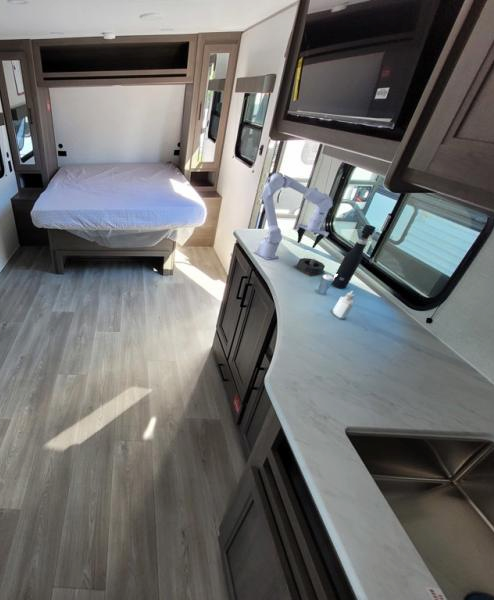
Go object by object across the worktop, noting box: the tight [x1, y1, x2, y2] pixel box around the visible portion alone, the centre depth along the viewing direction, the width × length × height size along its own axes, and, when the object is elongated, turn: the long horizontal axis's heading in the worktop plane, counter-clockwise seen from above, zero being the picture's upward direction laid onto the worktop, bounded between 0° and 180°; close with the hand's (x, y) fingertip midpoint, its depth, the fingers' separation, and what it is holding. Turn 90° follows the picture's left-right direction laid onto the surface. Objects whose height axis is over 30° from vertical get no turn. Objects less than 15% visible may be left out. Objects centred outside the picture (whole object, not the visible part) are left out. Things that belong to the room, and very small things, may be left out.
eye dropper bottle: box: [332, 290, 355, 320], centre depth 126 cm, size 4×6×12 cm
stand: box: [293, 258, 325, 277], centre depth 159 cm, size 10×10×6 cm
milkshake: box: [316, 274, 338, 295], centre depth 140 cm, size 4×5×10 cm
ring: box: [296, 257, 326, 275], centre depth 160 cm, size 12×12×3 cm
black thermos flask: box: [330, 224, 377, 290], centre depth 141 cm, size 6×6×30 cm
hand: (305, 244), depth 163 cm, fingers open, 7 cm apart
